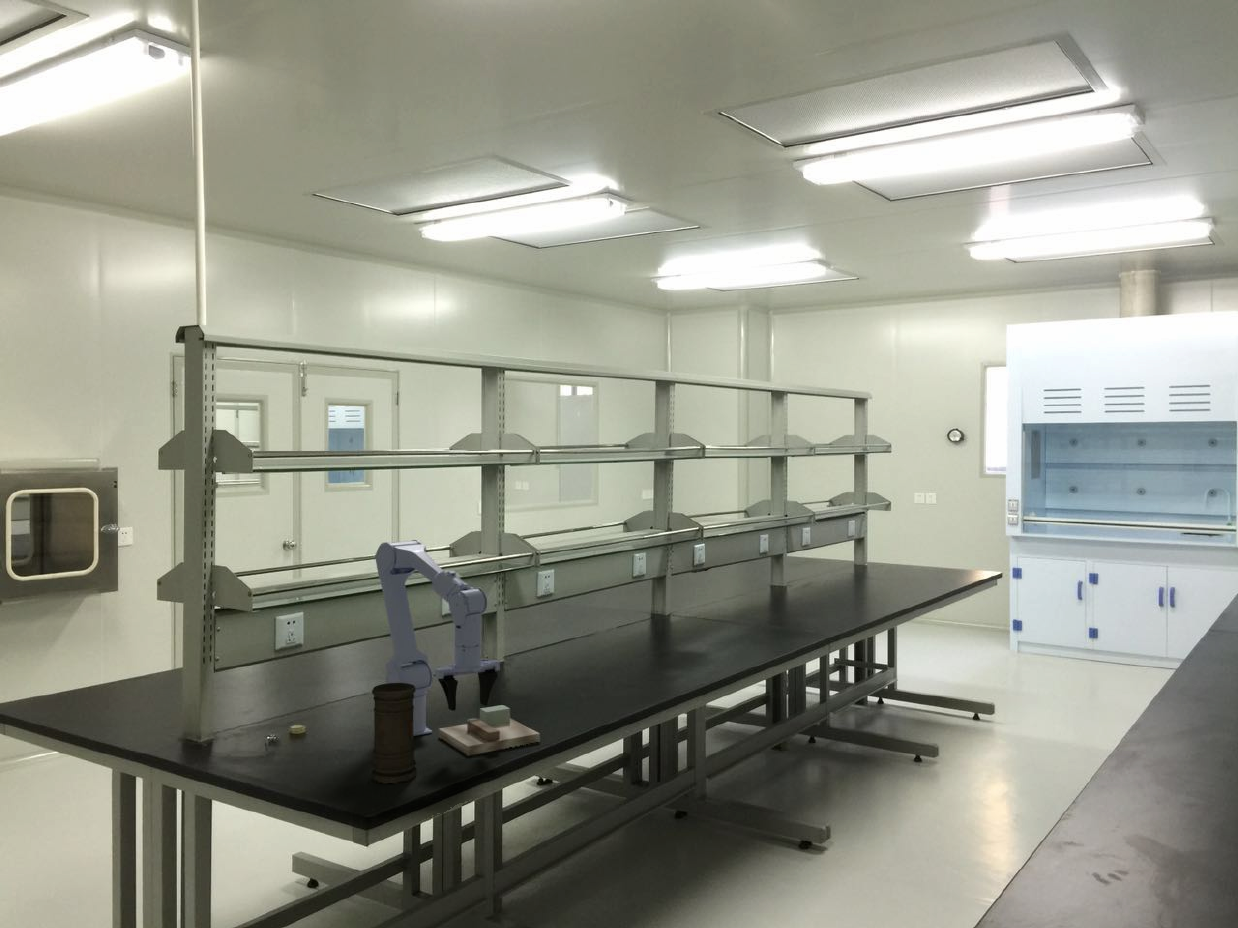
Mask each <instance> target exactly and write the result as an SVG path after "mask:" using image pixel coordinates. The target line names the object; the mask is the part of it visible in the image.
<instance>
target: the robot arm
mask: <svg viewBox="0 0 1238 928" xmlns="http://www.w3.org/2000/svg"><path fill="white" fill-rule="evenodd" d="M374 558H375V559H374V560H375V564H376V569H377V573H378V579H379V580H380V584H381V589H382V595H383V600H384V606H385V611H386V616H387V622H388V623H387V624H388V627H389V633H390V634H389V635H390V639H391V644H392V649H393V655H392V656H391V657H390V659H388V661H387V662H386V664H385V668H386V669H385V671H386V674H385V684H387V683H408V684H412V685H414V686H415V689H416V691H415V693H414V699H413V706H414V709H413V737H414V736H421V735H426V734H427V735H428V734H432V733H433V730H431V729H430V728H428V727H427V726H426V723H427V722H426V719H427V718H426V717H427V716H426V715H427V714H426V713H427V712H426V706H427V705H426V704H427V700H426V699H427V698H426V697H427V696H426V695H427V694H426V693H429V689H430V687H431V686H432V685H433V683H434V671H435V678H437V680H438V683H439V684H440V686H441V688H442V690H443V693H444V695H445V698H446V703H447V708H448V710H449V711H452V712H453V711H457V710H456V709H457V690H458V684H459V681H458V680H457V679H456V678H455V676H456V677H457V676H462V675H463V676H464V675H470V674H476V673H477V675H478V681H479V682H478V684H479V702H480V704H481V705H482V706H488V704H489V699H490V695H491V692H492V689H493V687H494V684H495V682H496V680H497V679H498V675H499V674H498V671H500V670H501V667H500V666H501V664H500V663H501V661H499V660H496V659H495V660H494V659H493V660H482V614H484V613H485V611H486V610H487V607H488V598H487V596H486V593H485V592H484V590H483V589H482V588H481V587H473V586H469V584H468V583H467V582H465V581H464V580H462V579H461V578H460V577H459V576H458V575H457V573H456V571H454V570H453V569H451V570H449V569H446V570H443V568H442V567H441V566H439V564H438V563H436V562H435V560H434V559H432V557H431V556H430V555H429V554H428V553H427V547H426V545H424V544H423V543H422V542H421V541H419V540H418V539H413V540H405V541H404V540H403V541H394V542H383V543H382V542H381V544H380V545H379V547H378V548H377V551H376V552H375V555H374ZM415 572H417V573H419V574H420V575H421V576H423V577H425V578H426V579H427V580H429V581H430V582H431V583H432V589H433V591H434V592H435V593H436V594H437V595H439V596H440V597H441V598H442V599H443V600H444V601H445V602H446V603H448V608H449V611H450V613H451V617H452V624H453V625H454V664H450V665H445V666H441V667H436V668H435V670H434V671H433V668H432V667H431V665H430V662H429V659H428V655H426V654H425V653H424V652H422V651H421V650H419V648H418V646H417V640H416V634H415V629H414V623H413V619H412V615H411V614H412V613H411V608H410V604H409V599H408V594H407V588H406V582H407V580H408V578H410V577H412V575H414V573H415ZM405 664H406V665H405ZM402 665H403V666H402Z"/></svg>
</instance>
